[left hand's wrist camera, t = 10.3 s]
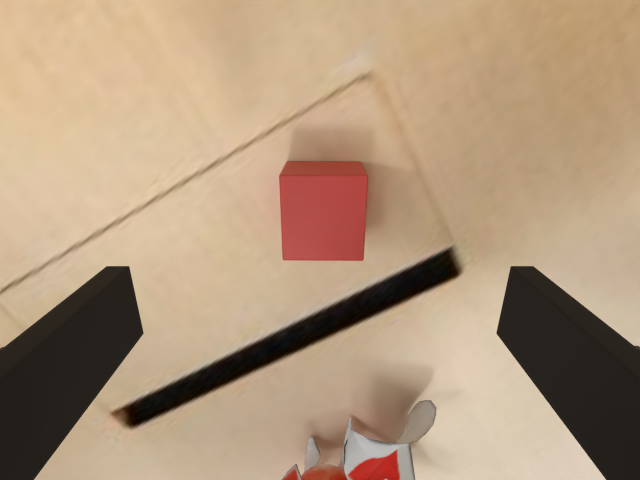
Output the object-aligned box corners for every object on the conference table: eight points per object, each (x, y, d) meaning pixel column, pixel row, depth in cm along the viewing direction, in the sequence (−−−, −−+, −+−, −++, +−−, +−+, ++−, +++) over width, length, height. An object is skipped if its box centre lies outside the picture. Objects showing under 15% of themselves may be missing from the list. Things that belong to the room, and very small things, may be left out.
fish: (219, 455, 27) (275, 621, 19) (382, 333, 31) (480, 433, 23) (271, 495, 34) (326, 628, 26) (399, 390, 37) (479, 482, 30)
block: (357, 235, 25) (363, 261, 21) (288, 234, 25) (282, 260, 21) (360, 161, 23) (368, 175, 19) (286, 161, 23) (279, 174, 19)
